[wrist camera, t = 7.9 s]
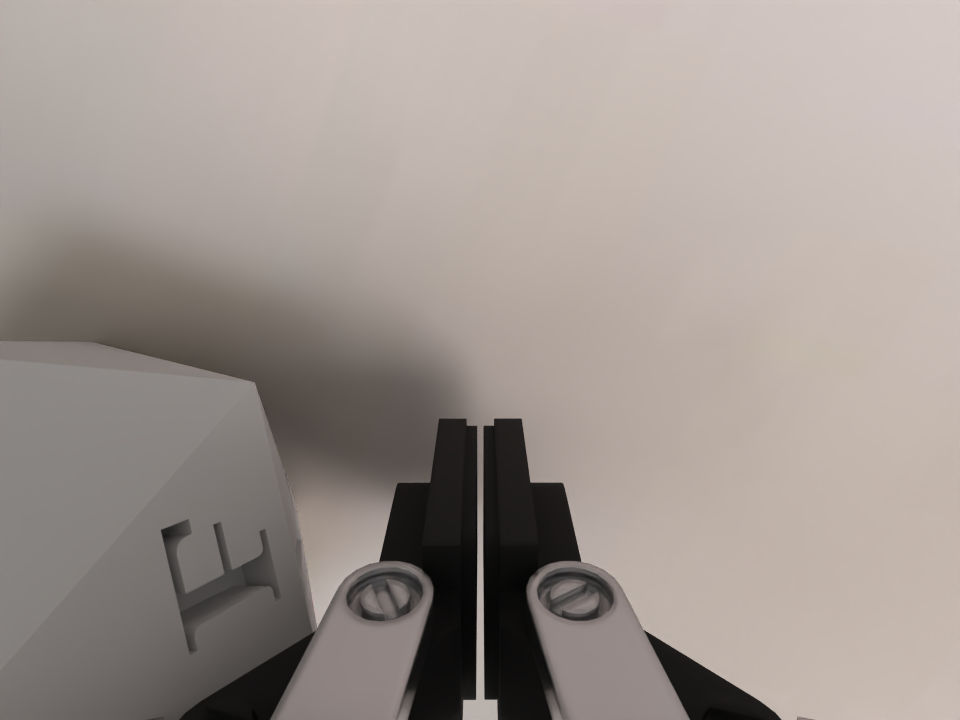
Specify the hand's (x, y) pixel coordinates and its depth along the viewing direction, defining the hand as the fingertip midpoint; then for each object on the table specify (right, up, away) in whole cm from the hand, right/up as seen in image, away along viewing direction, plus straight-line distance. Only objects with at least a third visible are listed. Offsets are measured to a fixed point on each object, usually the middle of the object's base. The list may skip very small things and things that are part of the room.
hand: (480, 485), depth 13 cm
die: (-7, 0, +1) cm, 7 cm away
